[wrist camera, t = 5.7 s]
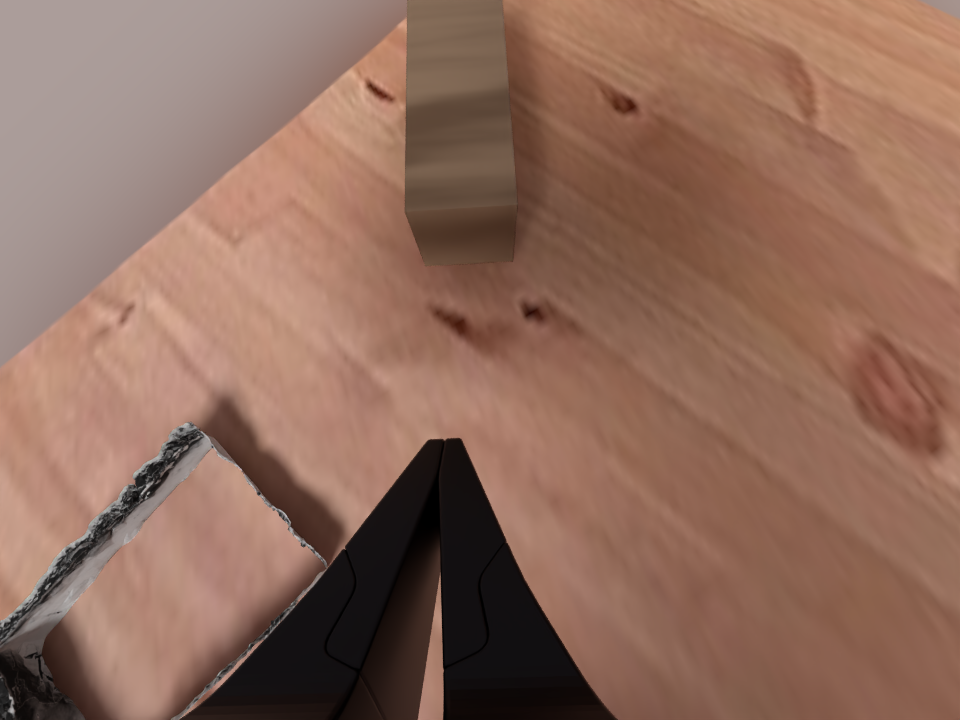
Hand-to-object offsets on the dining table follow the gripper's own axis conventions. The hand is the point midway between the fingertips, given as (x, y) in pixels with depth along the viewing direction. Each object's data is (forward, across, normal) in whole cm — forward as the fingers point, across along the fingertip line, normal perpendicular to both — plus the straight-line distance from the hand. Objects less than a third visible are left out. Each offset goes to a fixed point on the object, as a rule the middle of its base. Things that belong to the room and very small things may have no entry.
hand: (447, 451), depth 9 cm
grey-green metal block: (+12, 0, -2) cm, 13 cm away
